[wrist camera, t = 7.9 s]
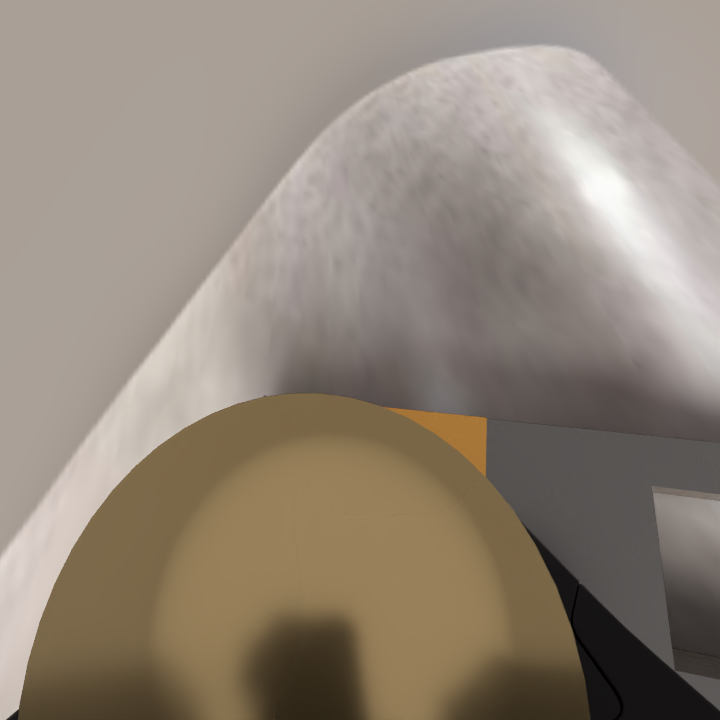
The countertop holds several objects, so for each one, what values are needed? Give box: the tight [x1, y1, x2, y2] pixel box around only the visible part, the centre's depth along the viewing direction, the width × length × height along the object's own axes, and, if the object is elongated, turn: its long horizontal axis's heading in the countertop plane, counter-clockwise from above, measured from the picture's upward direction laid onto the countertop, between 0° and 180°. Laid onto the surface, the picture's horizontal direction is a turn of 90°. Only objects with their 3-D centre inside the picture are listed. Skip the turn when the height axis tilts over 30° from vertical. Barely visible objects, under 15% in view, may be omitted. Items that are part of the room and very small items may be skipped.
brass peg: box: [18, 393, 591, 720], centre depth 9 cm, size 4×4×13 cm
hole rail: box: [264, 396, 720, 710], centre depth 14 cm, size 24×9×3 cm, turn 82°
